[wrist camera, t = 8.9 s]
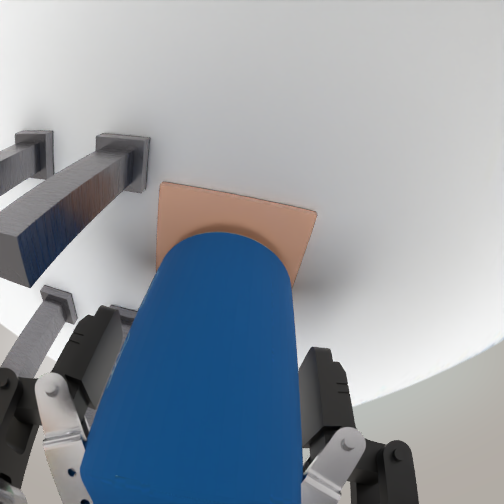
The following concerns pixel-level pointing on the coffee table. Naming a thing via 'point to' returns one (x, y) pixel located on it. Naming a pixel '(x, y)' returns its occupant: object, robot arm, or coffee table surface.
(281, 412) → the beverage can
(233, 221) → the pad
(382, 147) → the coffee table surface
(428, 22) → the coffee table surface
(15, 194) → the coffee table surface
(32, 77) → the coffee table surface
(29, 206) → the grey posts
